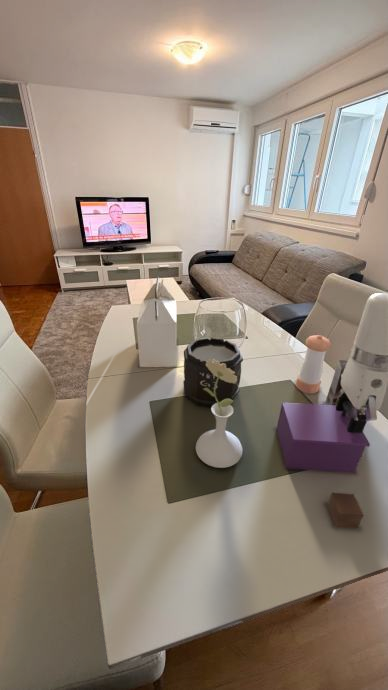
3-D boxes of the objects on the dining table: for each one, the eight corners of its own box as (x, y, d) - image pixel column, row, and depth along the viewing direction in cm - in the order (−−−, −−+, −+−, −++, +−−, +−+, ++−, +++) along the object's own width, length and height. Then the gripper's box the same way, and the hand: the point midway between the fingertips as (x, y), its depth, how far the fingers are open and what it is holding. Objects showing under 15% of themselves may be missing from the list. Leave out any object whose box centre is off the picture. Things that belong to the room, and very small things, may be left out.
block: (348, 507, 62) (354, 493, 60) (357, 529, 58) (363, 515, 56) (326, 506, 62) (331, 492, 60) (334, 527, 58) (339, 513, 56)
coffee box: (327, 417, 86) (341, 370, 78) (324, 403, 91) (337, 358, 83) (361, 423, 84) (380, 376, 76) (356, 408, 89) (373, 363, 82)
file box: (334, 433, 80) (343, 408, 76) (354, 473, 69) (365, 446, 65) (276, 430, 81) (281, 405, 77) (286, 469, 70) (292, 442, 65)
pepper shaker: (293, 389, 97) (305, 337, 88) (297, 378, 103) (309, 328, 94) (317, 396, 94) (331, 343, 85) (320, 384, 100) (334, 333, 91)
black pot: (222, 371, 106) (225, 331, 98) (249, 401, 91) (255, 357, 84) (174, 381, 99) (173, 340, 92) (194, 416, 85) (196, 369, 77)
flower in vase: (251, 460, 72) (265, 373, 60) (211, 480, 67) (218, 390, 55) (220, 426, 82) (227, 346, 70) (184, 441, 77) (184, 357, 65)
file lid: (346, 408, 76) (352, 392, 73) (369, 446, 65) (376, 429, 62) (281, 404, 77) (284, 389, 74) (292, 442, 65) (297, 425, 63)
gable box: (176, 367, 107) (176, 292, 94) (139, 368, 106) (133, 292, 93) (176, 339, 127) (175, 273, 113) (145, 339, 126) (140, 273, 112)
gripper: (415, 379, 53) (382, 450, 62) (370, 336, 69) (349, 398, 77) (372, 377, 54) (345, 448, 62) (337, 334, 69) (320, 396, 77)
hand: (348, 420), depth 70 cm, fingers open, 6 cm apart
